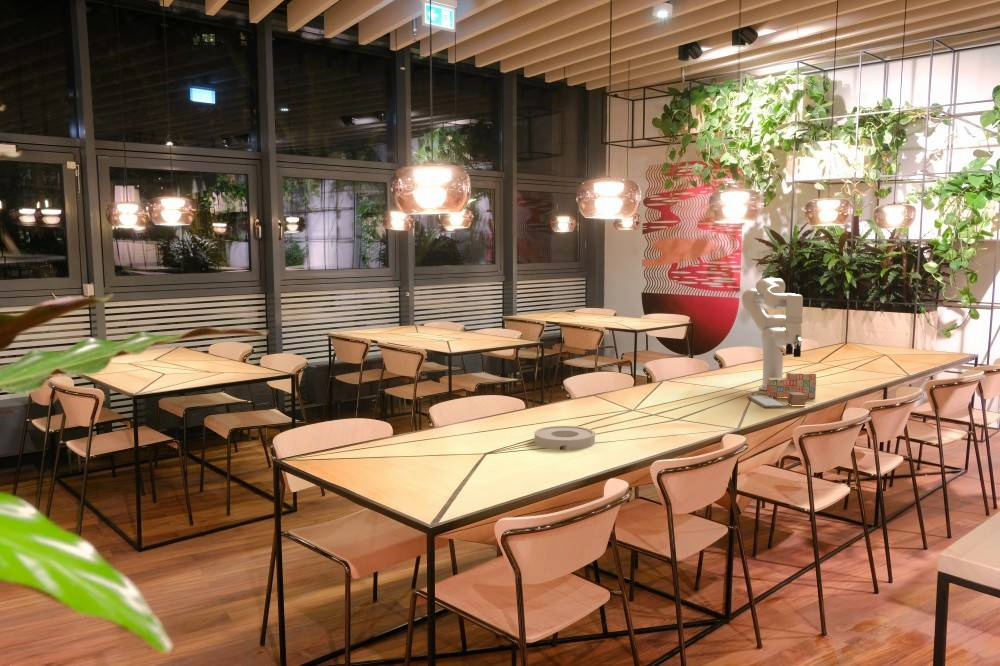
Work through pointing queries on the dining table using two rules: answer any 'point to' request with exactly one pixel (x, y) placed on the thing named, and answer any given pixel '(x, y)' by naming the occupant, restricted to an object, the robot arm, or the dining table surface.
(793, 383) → the stack of blocks
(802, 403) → the walnut cube
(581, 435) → the ashtray
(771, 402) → the blueprint board
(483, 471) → the dining table surface
